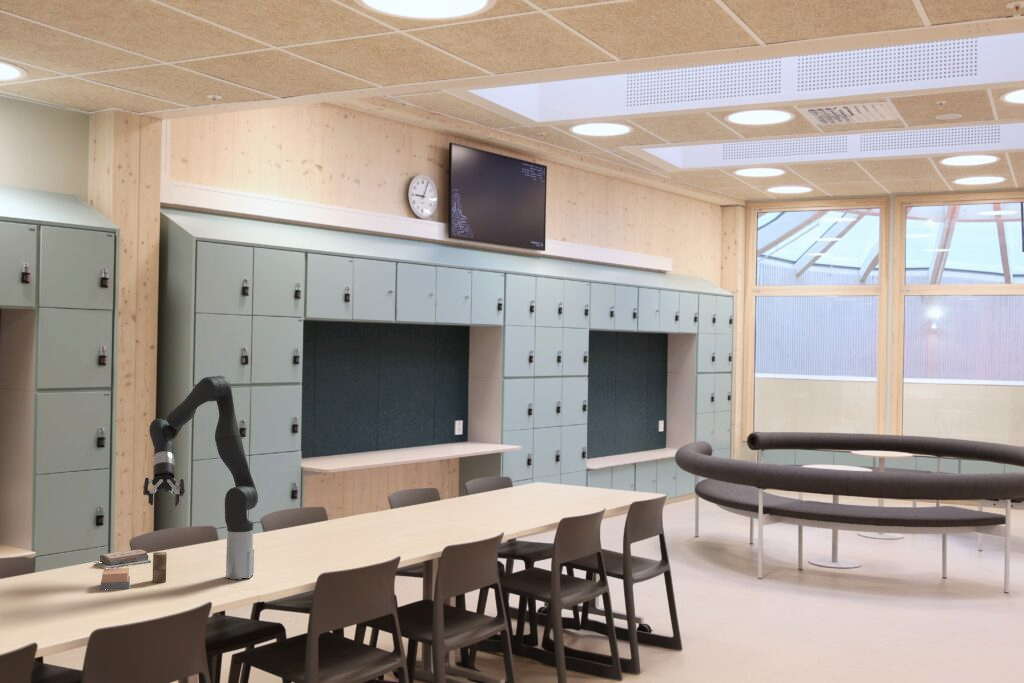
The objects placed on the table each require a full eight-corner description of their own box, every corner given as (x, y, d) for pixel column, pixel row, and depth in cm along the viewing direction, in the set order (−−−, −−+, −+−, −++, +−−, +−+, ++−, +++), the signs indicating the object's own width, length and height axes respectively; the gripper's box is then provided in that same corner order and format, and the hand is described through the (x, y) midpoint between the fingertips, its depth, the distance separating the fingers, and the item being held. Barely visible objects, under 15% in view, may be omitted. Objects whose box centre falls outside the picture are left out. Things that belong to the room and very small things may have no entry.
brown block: (165, 579, 350) (166, 551, 350) (165, 582, 345) (166, 554, 346) (152, 580, 348) (153, 552, 348) (152, 583, 344) (153, 554, 344)
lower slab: (129, 584, 344) (129, 576, 344) (128, 590, 335) (129, 581, 335) (102, 586, 340) (102, 577, 340) (100, 592, 332) (100, 583, 332)
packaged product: (139, 547, 383) (151, 551, 377) (139, 559, 383) (151, 563, 377) (94, 553, 370) (105, 557, 364) (93, 566, 370) (105, 570, 363)
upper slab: (128, 576, 343) (128, 567, 343) (127, 581, 335) (127, 573, 335) (104, 577, 340) (104, 569, 340) (102, 583, 333) (102, 574, 333)
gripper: (145, 460, 359) (145, 499, 350) (185, 462, 366) (186, 500, 357) (142, 470, 364) (141, 509, 355) (181, 472, 371) (182, 510, 362)
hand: (164, 504), depth 356 cm, fingers open, 8 cm apart
